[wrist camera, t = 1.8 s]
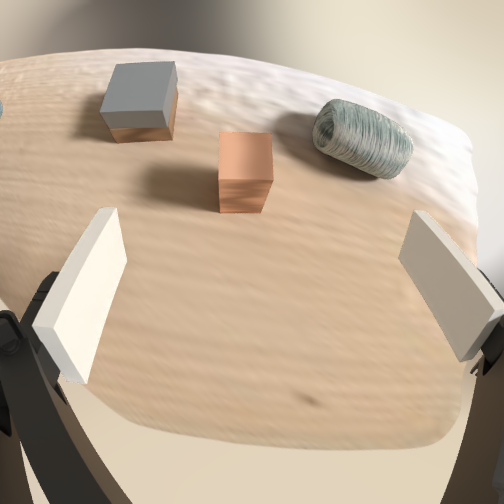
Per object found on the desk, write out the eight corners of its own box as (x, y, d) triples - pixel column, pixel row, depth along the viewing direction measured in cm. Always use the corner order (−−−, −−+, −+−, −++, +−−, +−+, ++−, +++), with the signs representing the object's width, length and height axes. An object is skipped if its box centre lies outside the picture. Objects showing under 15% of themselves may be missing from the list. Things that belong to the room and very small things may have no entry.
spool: (294, 152, 38) (345, 95, 30) (305, 119, 44) (346, 71, 36) (375, 210, 41) (429, 168, 34) (374, 171, 47) (418, 132, 39)
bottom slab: (117, 144, 40) (109, 130, 36) (126, 99, 41) (120, 83, 37) (172, 141, 41) (168, 126, 37) (178, 95, 42) (175, 79, 38)
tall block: (220, 213, 39) (218, 179, 28) (220, 175, 40) (219, 132, 29) (260, 213, 40) (273, 179, 29) (259, 176, 40) (271, 133, 30)
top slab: (108, 128, 36) (99, 112, 32) (123, 81, 37) (116, 64, 34) (167, 127, 37) (162, 110, 33) (177, 80, 38) (174, 61, 34)
